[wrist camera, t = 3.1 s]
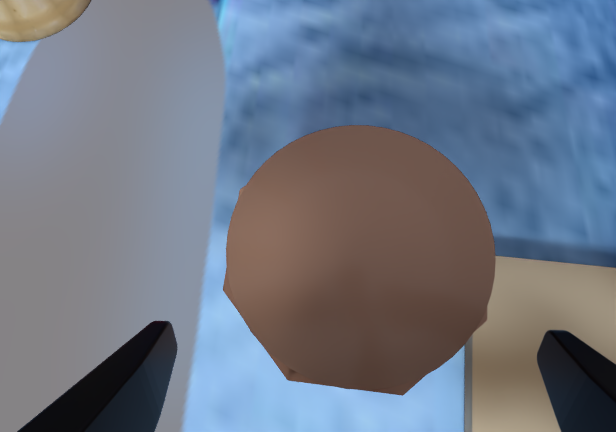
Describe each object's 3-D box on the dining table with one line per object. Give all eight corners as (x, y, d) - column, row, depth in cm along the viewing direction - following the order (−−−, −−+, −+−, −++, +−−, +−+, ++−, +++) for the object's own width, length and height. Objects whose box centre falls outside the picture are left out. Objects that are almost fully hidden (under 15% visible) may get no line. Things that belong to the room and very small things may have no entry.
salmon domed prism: (410, 365, 18) (502, 414, 9) (265, 347, 19) (199, 373, 9) (416, 223, 20) (497, 132, 10) (283, 210, 21) (244, 113, 11)
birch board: (716, 575, 16) (742, 592, 15) (463, 535, 16) (472, 548, 15) (677, 278, 19) (695, 275, 18) (465, 256, 19) (472, 253, 19)
